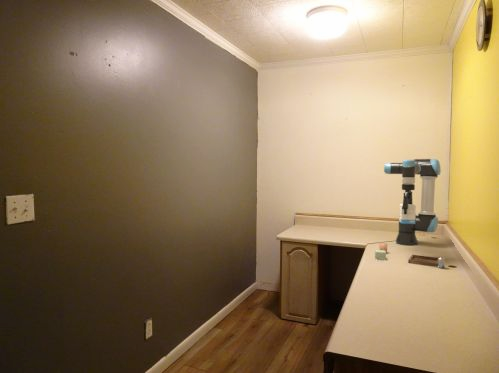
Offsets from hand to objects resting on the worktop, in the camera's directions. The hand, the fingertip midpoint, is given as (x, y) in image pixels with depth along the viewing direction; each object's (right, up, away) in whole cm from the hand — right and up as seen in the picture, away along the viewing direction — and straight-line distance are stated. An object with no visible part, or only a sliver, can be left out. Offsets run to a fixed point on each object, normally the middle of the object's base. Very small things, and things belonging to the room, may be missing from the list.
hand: (407, 218), depth 230 cm
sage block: (-17, -26, +1) cm, 31 cm away
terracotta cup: (-9, -25, +17) cm, 32 cm away
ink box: (0, -3, 0) cm, 3 cm away
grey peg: (+11, -27, -19) cm, 35 cm away
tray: (+8, -27, -7) cm, 28 cm away
